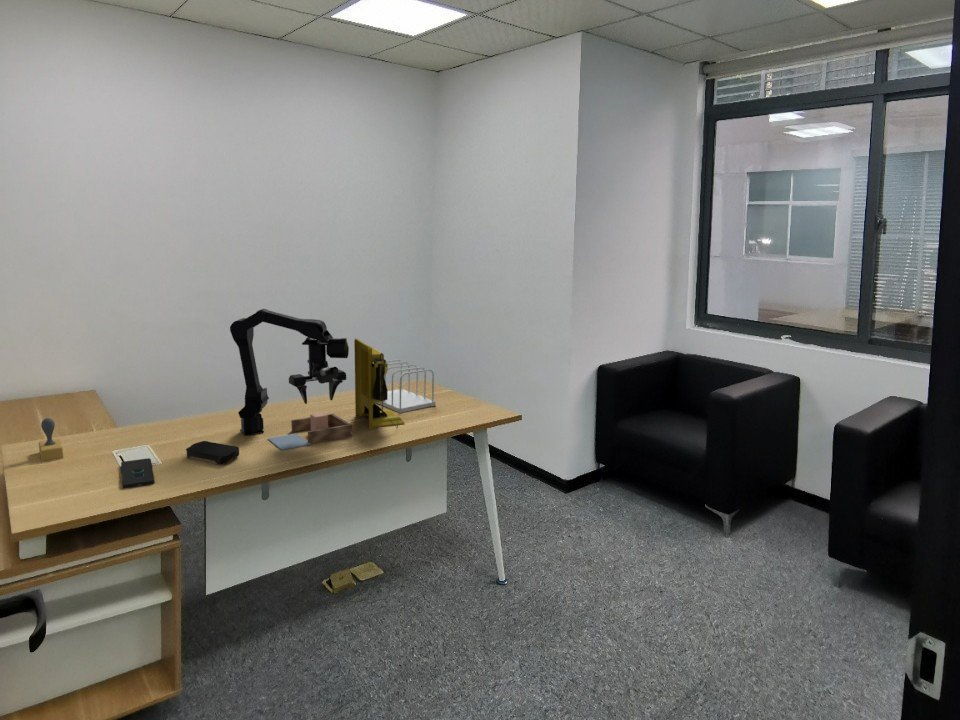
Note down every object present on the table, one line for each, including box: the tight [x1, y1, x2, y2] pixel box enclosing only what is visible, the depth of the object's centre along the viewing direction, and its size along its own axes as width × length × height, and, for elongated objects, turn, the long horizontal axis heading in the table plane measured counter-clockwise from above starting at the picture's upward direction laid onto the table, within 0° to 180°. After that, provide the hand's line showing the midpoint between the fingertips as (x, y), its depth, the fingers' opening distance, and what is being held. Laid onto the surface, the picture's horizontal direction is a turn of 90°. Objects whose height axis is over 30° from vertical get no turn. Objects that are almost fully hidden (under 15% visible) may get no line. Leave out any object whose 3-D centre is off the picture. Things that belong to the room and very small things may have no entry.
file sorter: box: [377, 359, 437, 414], centre depth 281 cm, size 25×17×16 cm
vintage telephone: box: [353, 338, 405, 430], centre depth 253 cm, size 31×14×30 cm, turn 25°
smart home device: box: [120, 457, 156, 489], centre depth 200 cm, size 8×2×20 cm
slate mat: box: [267, 432, 312, 451], centre depth 231 cm, size 10×13×1 cm
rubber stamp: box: [38, 417, 64, 462], centre depth 213 cm, size 10×6×12 cm, turn 35°
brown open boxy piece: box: [290, 413, 353, 444], centre depth 240 cm, size 16×16×4 cm
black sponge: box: [185, 440, 240, 465], centre depth 215 cm, size 16×8×4 cm, turn 68°
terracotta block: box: [309, 411, 329, 431], centre depth 240 cm, size 4×4×7 cm
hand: (318, 402), depth 238 cm, fingers open, 9 cm apart
